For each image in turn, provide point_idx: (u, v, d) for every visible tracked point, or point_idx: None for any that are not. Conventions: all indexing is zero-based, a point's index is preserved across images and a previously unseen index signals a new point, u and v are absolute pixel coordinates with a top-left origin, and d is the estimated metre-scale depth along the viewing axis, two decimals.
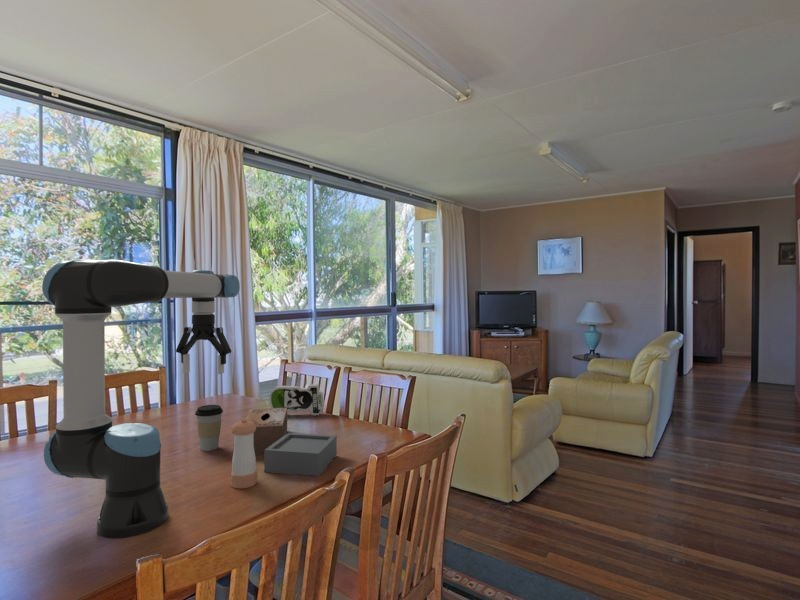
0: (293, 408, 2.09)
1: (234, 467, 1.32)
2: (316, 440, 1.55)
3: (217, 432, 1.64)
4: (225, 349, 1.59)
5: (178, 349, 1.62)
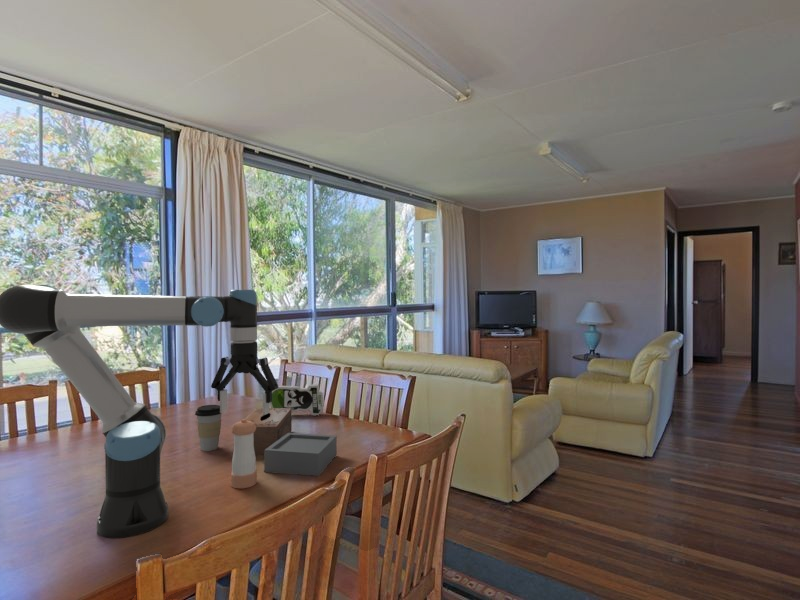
0: (293, 408, 2.09)
1: (234, 467, 1.32)
2: (316, 440, 1.55)
3: (217, 432, 1.64)
4: (271, 385, 1.32)
5: (214, 384, 1.35)
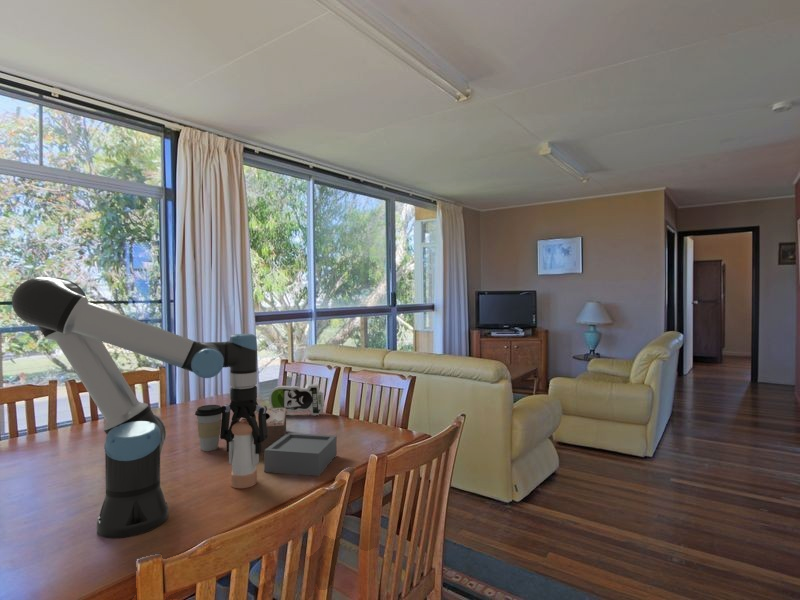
0: (293, 408, 2.09)
1: (234, 467, 1.32)
2: (316, 440, 1.55)
3: (217, 432, 1.64)
4: (261, 436, 1.32)
5: (222, 435, 1.34)
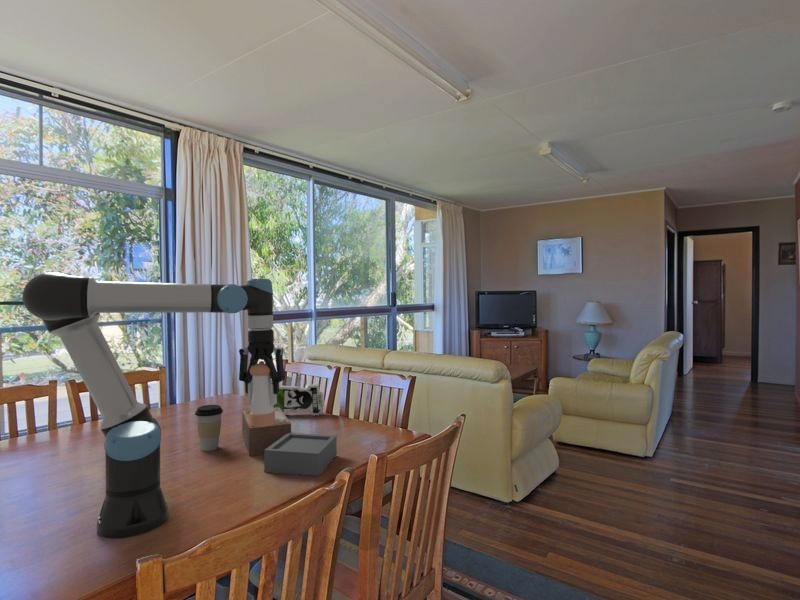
0: (293, 408, 2.09)
1: (253, 407, 1.36)
2: (316, 440, 1.55)
3: (217, 432, 1.64)
4: (279, 376, 1.36)
5: (241, 376, 1.38)
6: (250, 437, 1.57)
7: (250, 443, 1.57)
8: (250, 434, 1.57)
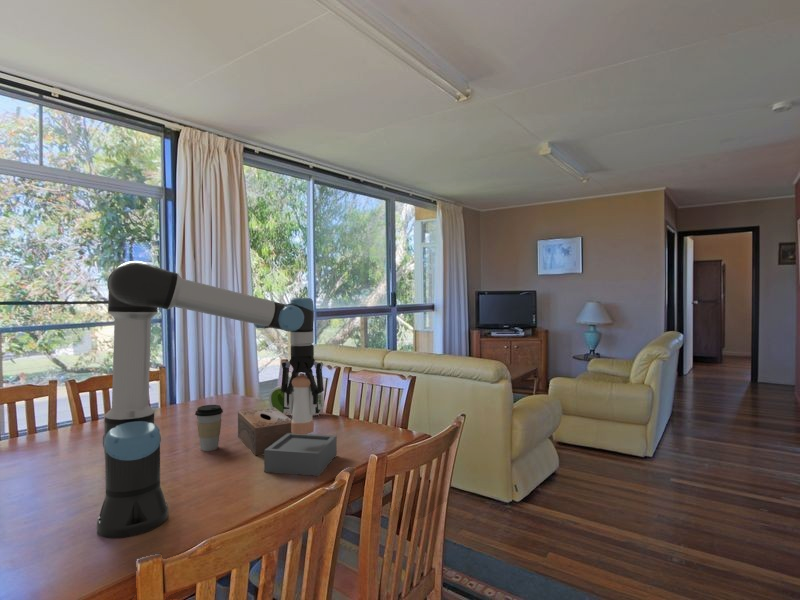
0: None
1: (295, 416, 1.48)
2: (316, 440, 1.55)
3: (217, 432, 1.64)
4: (319, 388, 1.48)
5: (283, 388, 1.50)
6: (256, 437, 1.57)
7: (256, 443, 1.57)
8: (256, 434, 1.57)
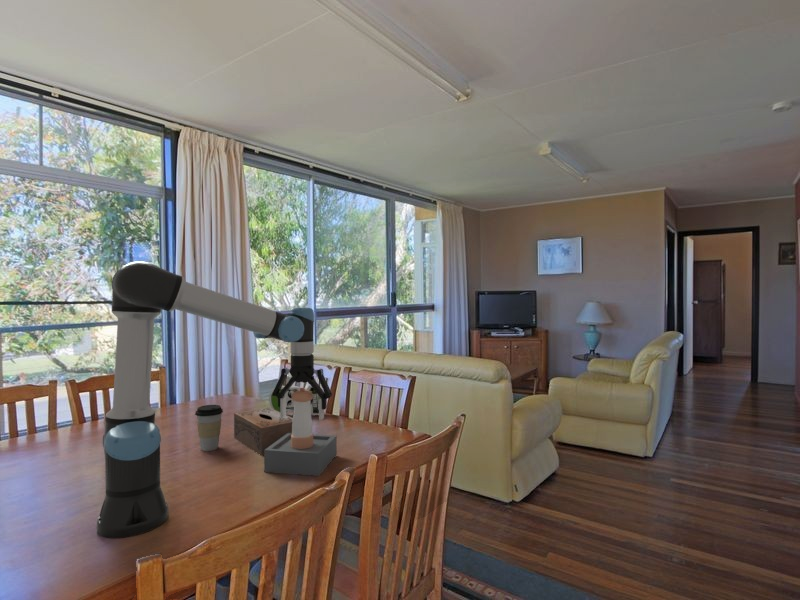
0: (293, 408, 2.09)
1: (294, 430, 1.48)
2: (316, 440, 1.55)
3: (217, 432, 1.64)
4: (327, 393, 1.47)
5: (275, 392, 1.50)
6: (262, 437, 1.58)
7: (262, 443, 1.58)
8: (262, 434, 1.58)
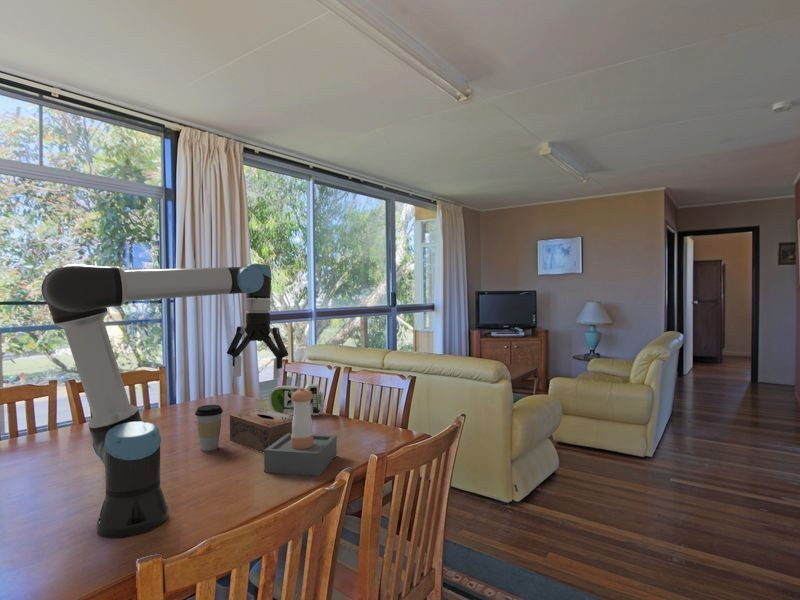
0: (293, 408, 2.09)
1: (294, 430, 1.48)
2: (316, 440, 1.55)
3: (217, 432, 1.64)
4: (282, 352, 1.43)
5: (229, 351, 1.47)
6: (270, 436, 1.58)
7: (270, 442, 1.58)
8: (270, 433, 1.58)
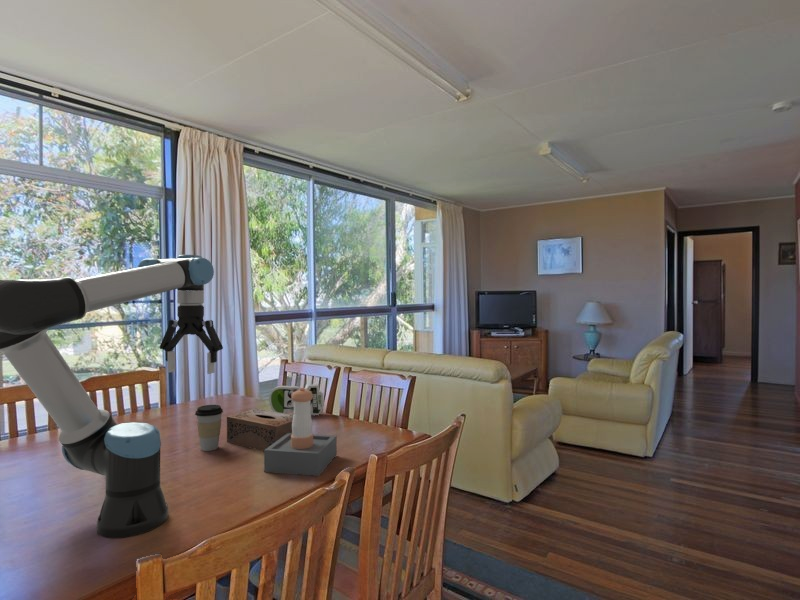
0: (293, 408, 2.09)
1: (294, 430, 1.48)
2: (316, 440, 1.55)
3: (217, 432, 1.64)
4: (215, 345, 1.39)
5: (162, 345, 1.42)
6: (277, 435, 1.59)
7: None
8: (277, 432, 1.59)
